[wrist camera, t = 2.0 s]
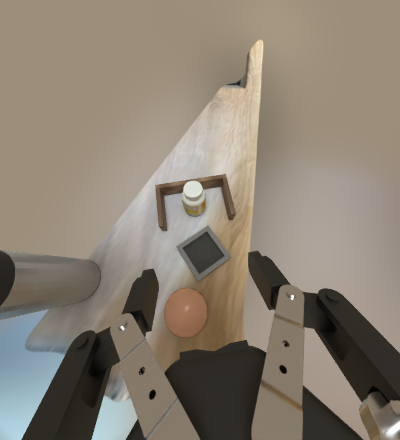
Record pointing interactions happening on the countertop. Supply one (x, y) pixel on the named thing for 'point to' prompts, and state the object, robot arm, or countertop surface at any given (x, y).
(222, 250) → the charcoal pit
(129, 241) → the countertop surface
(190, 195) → the supplement bottle
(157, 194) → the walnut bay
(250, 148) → the countertop surface
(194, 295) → the tan round disc
